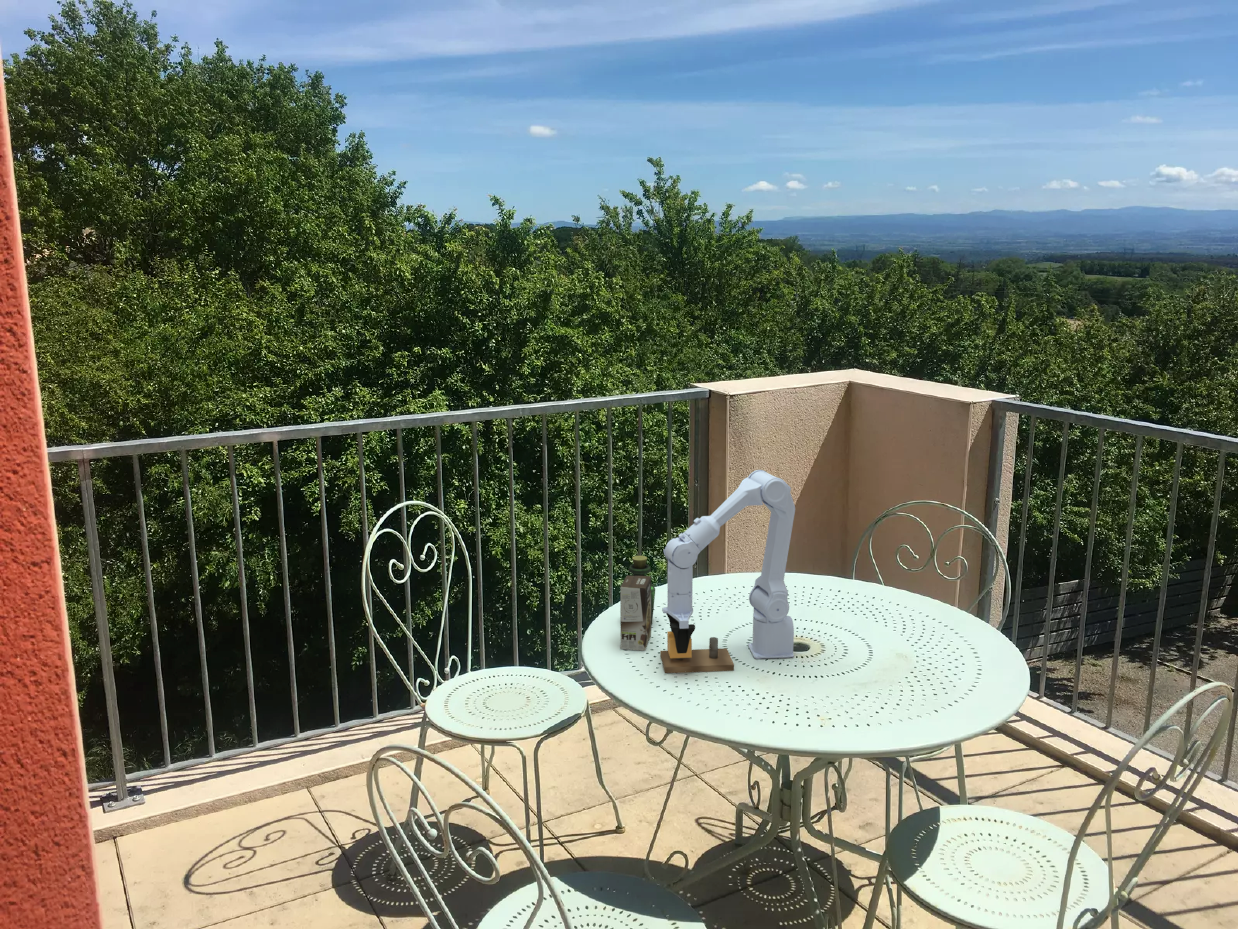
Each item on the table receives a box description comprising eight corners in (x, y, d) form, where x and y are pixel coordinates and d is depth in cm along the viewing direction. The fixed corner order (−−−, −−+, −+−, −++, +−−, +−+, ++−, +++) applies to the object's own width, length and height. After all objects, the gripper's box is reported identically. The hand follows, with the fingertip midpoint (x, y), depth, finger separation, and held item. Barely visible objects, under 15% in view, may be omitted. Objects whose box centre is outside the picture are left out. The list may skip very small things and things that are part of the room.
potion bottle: (618, 621, 232) (618, 555, 228) (646, 615, 236) (645, 551, 232) (633, 632, 225) (633, 564, 221) (661, 626, 229) (661, 560, 225)
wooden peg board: (726, 654, 212) (727, 630, 210) (734, 670, 203) (734, 646, 202) (660, 656, 211) (660, 633, 209) (664, 673, 202) (664, 648, 201)
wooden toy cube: (688, 648, 208) (688, 630, 208) (691, 657, 204) (691, 639, 203) (667, 649, 208) (667, 631, 207) (670, 658, 203) (670, 640, 202)
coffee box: (645, 651, 214) (645, 588, 210) (619, 649, 215) (619, 586, 211) (652, 636, 222) (652, 575, 219) (627, 634, 224) (626, 574, 220)
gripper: (659, 580, 209) (659, 633, 212) (666, 602, 195) (666, 659, 198) (688, 579, 210) (688, 632, 213) (698, 601, 196) (697, 658, 199)
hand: (679, 645), depth 205 cm, fingers open, 7 cm apart
